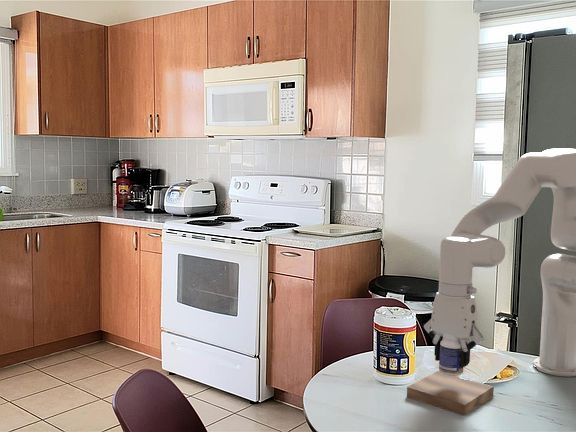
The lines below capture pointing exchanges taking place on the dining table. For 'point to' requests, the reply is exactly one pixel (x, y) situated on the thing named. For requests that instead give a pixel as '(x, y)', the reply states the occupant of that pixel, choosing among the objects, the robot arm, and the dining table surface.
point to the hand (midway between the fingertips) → (451, 362)
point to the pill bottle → (450, 356)
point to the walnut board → (450, 392)
